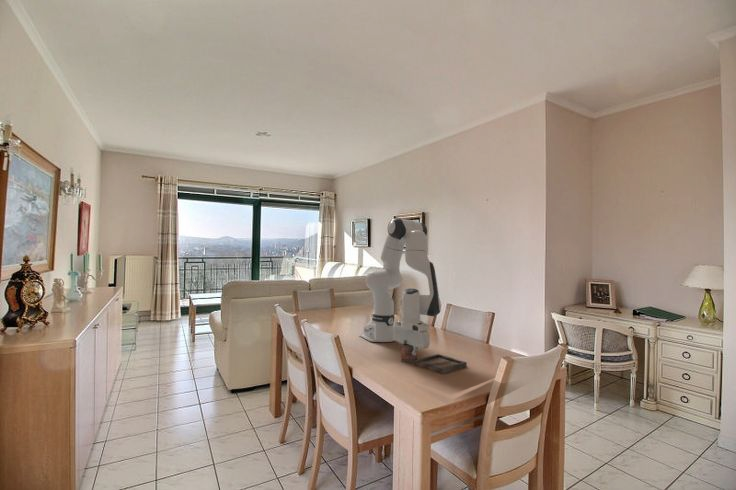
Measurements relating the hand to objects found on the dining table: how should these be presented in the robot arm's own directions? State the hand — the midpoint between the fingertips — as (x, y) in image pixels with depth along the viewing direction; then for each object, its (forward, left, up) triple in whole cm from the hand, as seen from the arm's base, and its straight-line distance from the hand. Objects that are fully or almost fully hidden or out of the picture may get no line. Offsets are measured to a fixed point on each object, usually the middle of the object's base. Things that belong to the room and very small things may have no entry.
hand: (410, 354), depth 163 cm
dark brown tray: (+13, +6, -3) cm, 15 cm away
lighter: (-1, 0, -3) cm, 3 cm away
